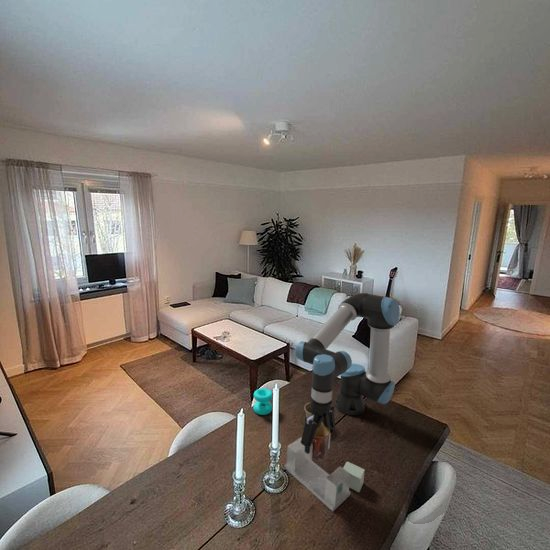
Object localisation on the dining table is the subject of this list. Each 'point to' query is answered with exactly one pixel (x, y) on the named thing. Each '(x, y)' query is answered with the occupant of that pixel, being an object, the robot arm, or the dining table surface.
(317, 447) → the mug
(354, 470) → the block
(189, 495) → the dining table surface
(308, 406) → the flower pot
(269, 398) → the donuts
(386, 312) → the robot arm
